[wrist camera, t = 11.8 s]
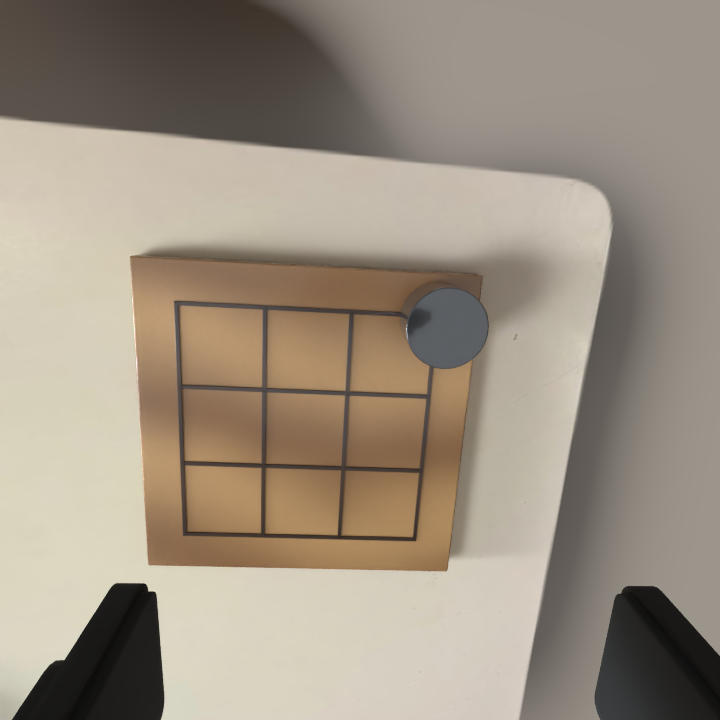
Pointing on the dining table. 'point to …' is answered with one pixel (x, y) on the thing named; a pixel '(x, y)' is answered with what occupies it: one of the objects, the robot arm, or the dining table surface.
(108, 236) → the dining table surface
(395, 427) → the game board
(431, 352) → the grey metallic short cylinder
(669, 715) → the robot arm
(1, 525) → the dining table surface
